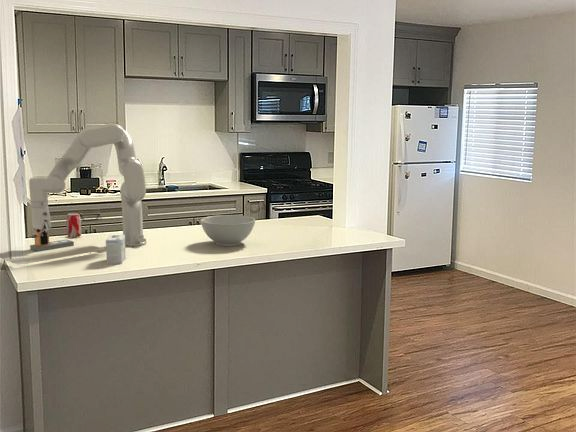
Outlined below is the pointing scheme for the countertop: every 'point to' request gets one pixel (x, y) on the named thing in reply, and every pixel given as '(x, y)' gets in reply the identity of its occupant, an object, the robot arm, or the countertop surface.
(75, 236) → the soda can
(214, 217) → the decorative bowl
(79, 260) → the countertop surface
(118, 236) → the light grey box
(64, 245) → the power strip
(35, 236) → the charger
